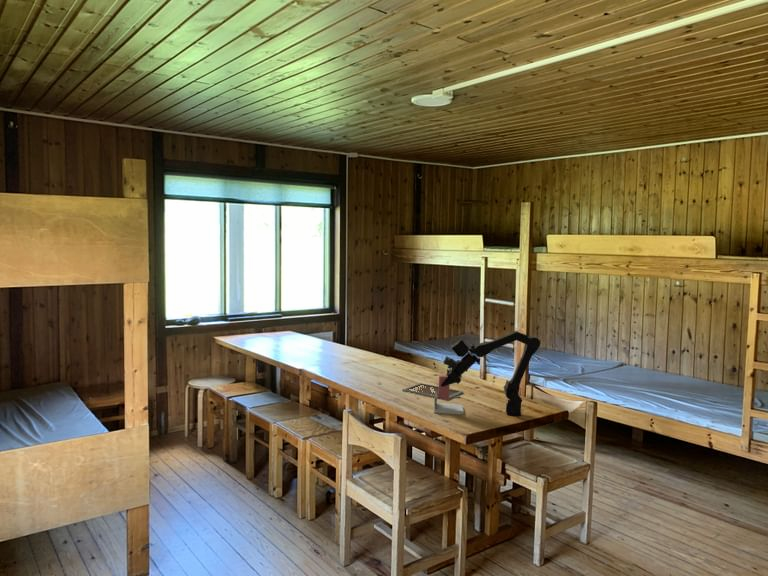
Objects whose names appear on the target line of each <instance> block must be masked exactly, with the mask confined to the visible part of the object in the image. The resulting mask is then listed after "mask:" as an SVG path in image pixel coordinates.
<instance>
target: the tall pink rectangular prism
mask: <svg viewBox="0 0 768 576" xmlns="http://www.w3.org/2000/svg"><path fill="white" fill-rule="evenodd" d="M447 376H448V375H444V374H443V375H442V374H440V375H439V376H438V386H439V392H438V399H437V400H441V399H444V400H443V401H446V400H447V401H449V389H450V385H446V386H443V387H442V386H441V384H442V383H443V381H444V380H445V379H446V378H447Z"/></svg>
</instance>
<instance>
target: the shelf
mask: <svg viewBox="0 0 768 576" xmlns="http://www.w3.org/2000/svg"><path fill="white" fill-rule="evenodd" d="M433 399H434V402H433V413H434V414H445V415H446V414H447V415H460V414H464V415H465V411H464V408H463V407H464V406H463V404H457V403H443V402H441V403H440V402H437V401H438V399H437V391H435V398H433Z"/></svg>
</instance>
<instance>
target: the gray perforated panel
mask: <svg viewBox="0 0 768 576" xmlns="http://www.w3.org/2000/svg"><path fill="white" fill-rule="evenodd" d="M420 385H424V388H423V386H422V388H421V387H420V390H419V387H418V386H420ZM425 386H426V388H425ZM415 387H418V390H417V392H416V391H411V390H409V389H413V388H415ZM430 387H433V388H434V391H437V400H439V399H438V392H439V385H435V384H434V385H433V384H428V383H423V382H418V383H415V384H413V385H411V386H407V387H405V388H402V390H401V391H402V392H404V391H405V393H408V392H410V393H409V394H413V393H415V394H414V395H418V394H419V396H422V395H423V396H422V397H427V396H428V398H432V397H433V398H432V399H435V393H434V392H433V393H432V392H431V390H430ZM433 388H432V389H433ZM421 389H422V390H421ZM414 390H415V389H414ZM418 391H419V392H418ZM422 391H423V392H422ZM431 394H432V395H431ZM458 395H459V396H458ZM461 395H464V391H463V390H459V389H452V388H449V400H452V399H460V398H461ZM449 400H444V399H442V400H441V401H447V402H448V401H449Z"/></svg>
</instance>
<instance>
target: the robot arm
mask: <svg viewBox="0 0 768 576" xmlns="http://www.w3.org/2000/svg"><path fill="white" fill-rule="evenodd" d="M516 341H517V342H520V343H522V344H524V346H523V352H522V355H521V357H520V359H519V360H518V361H519V362H518V364H517V366H516V368H515V371H514V373H513V375H512V378H511V379H510V380H506V381H505V385H504V386H503V394H504V395H505V397H506V398H507V402H506V403H505V413H506V414H507V416H515V417H516V416H517V417H521V416H522V402H523V399H522V397H521V396H520V394H519V393H520V385H521V381H522V379H523V378H524V375H525V373H526V370H527V368H528V367H529V366H528V365H529V363H530V361H531V359H532V358H533V356H534V354H536V353H537V351H538V350H539V348H540V346H541V341H540V339H539V338H538V337H537V336H535V335H532V334H531V335H527V334H525V333H521V332H520V331H517V330H513V331H512V332H510V333H507V334H505V335H503V336H500V337H498V338H495V339H493V340H489V341H484V342H483V341H482V342H479V343H476V344H475V345H469V346H468V345H467V343H465V342H464V340H463V339H461V338H460V340H458V341H457V342H454V344H453V345H452V346H451V347H450V349H451V350H452V351H453V353H455V355H456V356H457V357H458V358H459V357H461V359H458V360H455V359H454V358H452V357H449V356H445V358H444V359H443V361H442V362H443V364H444V365H446V366H447V368H446V375H448V376H447V378H446V379H445V380H444V381H443V383H442V384H441V386H442V387H443V386H446V385H449V386H451V385H452V384H457V385H459V383H461V382H462V375H463V374H464V373H466V372H468V371H469V369H470V368H471V367H472V366H473V365H474V364H475V363H476V364H478V365H479V366H480V365H481V358H483V357H485V356H487V355H488V354H490V353H491V352H493V351H494V350H495V349H498V348H501V347H503V346H506V345H509V344H511V343H513V342H516Z"/></svg>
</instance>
